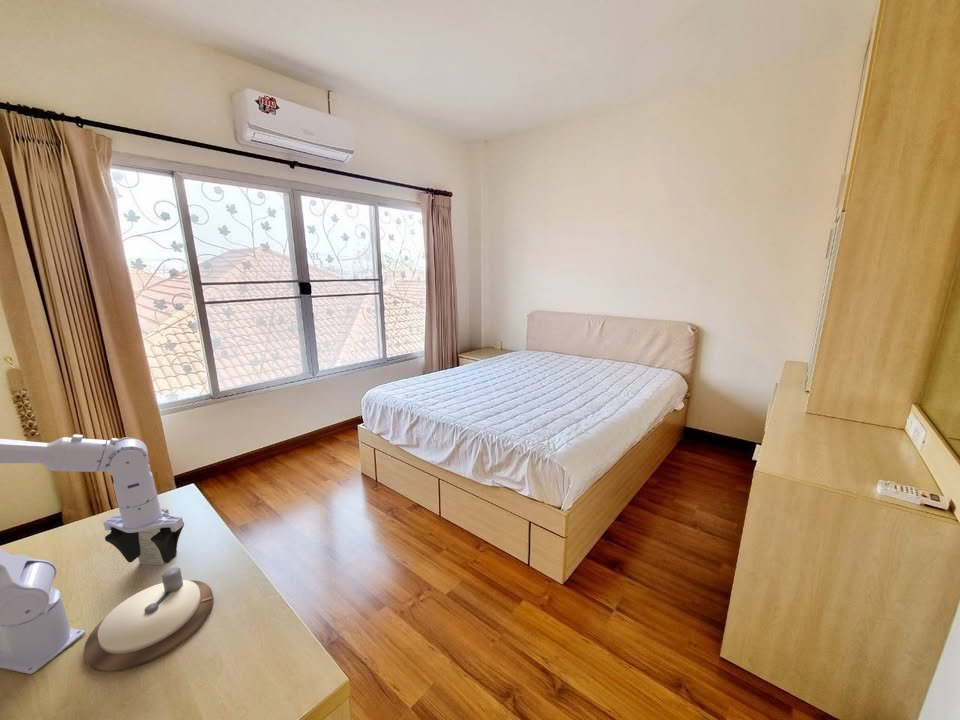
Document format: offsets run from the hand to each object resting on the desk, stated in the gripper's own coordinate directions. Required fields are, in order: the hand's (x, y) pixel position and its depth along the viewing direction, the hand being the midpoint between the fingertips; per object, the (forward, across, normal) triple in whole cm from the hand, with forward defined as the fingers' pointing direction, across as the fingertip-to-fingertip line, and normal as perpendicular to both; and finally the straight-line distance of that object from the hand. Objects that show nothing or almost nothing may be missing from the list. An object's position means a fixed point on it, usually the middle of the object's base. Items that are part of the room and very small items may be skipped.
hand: (152, 559), depth 78 cm
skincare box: (+10, +11, -11) cm, 19 cm away
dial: (+8, -3, +5) cm, 11 cm away
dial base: (+10, -3, +6) cm, 12 cm away
